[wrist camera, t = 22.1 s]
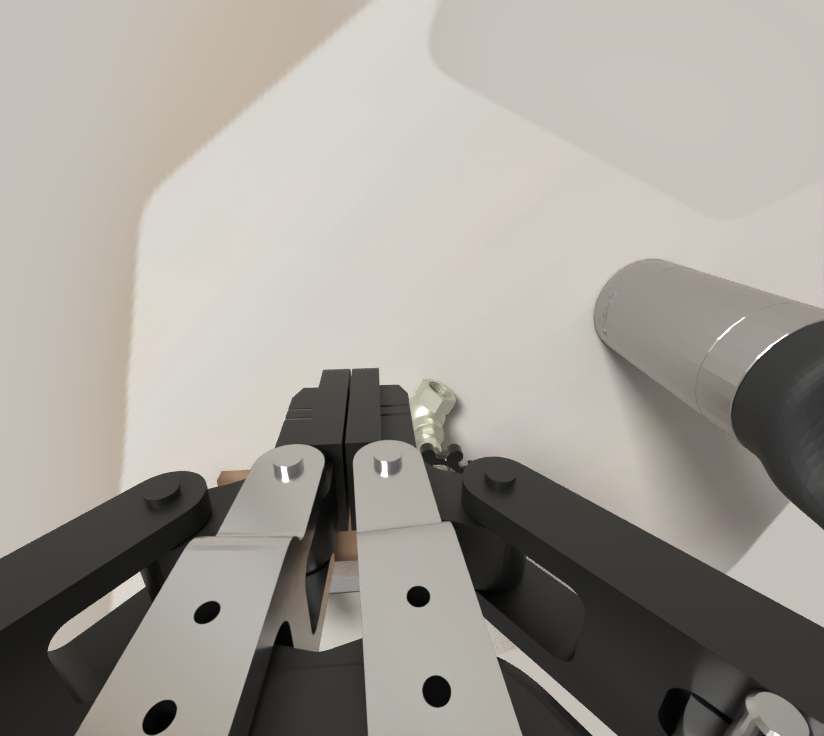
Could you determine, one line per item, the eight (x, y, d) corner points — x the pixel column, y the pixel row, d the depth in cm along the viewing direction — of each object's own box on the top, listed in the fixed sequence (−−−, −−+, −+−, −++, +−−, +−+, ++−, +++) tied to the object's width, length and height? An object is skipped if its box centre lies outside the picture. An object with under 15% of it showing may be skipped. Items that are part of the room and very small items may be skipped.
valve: (465, 392, 43) (496, 467, 32) (432, 441, 45) (452, 526, 34) (408, 366, 41) (421, 435, 30) (377, 418, 43) (379, 500, 33)
